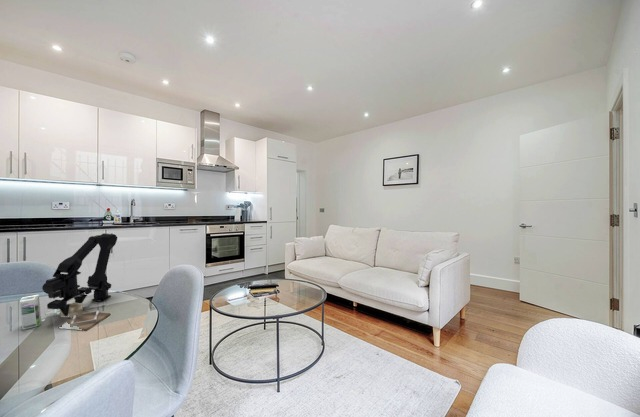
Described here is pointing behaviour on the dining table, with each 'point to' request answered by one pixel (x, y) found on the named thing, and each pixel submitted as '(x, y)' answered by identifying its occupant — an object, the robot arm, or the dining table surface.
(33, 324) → the syrup box
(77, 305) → the ash block
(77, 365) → the dining table surface
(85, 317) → the socket board
